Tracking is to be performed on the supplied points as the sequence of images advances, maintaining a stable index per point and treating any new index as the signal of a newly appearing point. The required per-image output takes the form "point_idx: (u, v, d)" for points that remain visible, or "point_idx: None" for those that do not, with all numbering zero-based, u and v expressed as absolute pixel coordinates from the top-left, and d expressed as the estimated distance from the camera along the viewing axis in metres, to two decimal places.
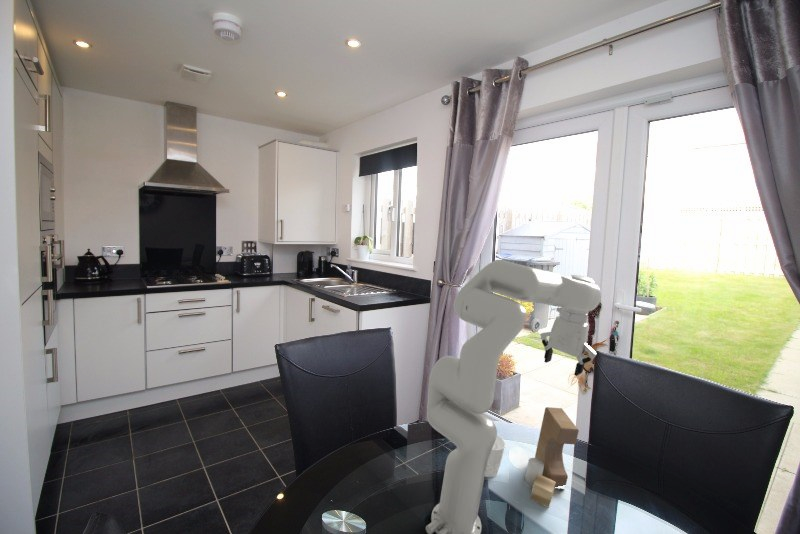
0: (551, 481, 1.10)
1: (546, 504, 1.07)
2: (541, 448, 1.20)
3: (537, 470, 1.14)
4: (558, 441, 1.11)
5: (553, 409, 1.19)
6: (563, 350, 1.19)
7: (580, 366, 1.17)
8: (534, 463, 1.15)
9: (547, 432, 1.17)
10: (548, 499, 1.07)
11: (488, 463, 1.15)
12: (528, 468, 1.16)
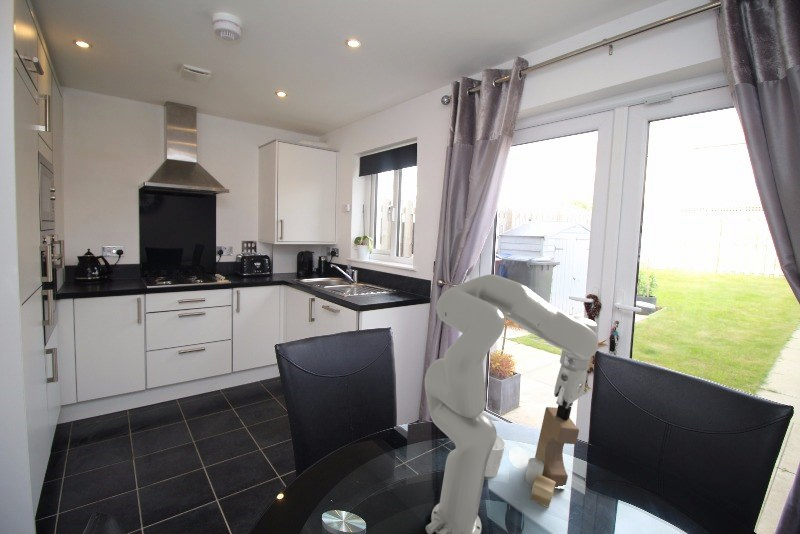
0: (551, 481, 1.10)
1: (546, 504, 1.07)
2: (542, 447, 1.20)
3: (537, 470, 1.14)
4: (558, 441, 1.11)
5: (553, 409, 1.19)
6: (577, 397, 1.12)
7: None
8: (534, 463, 1.15)
9: (547, 432, 1.17)
10: (548, 499, 1.07)
11: (488, 463, 1.15)
12: (528, 468, 1.16)
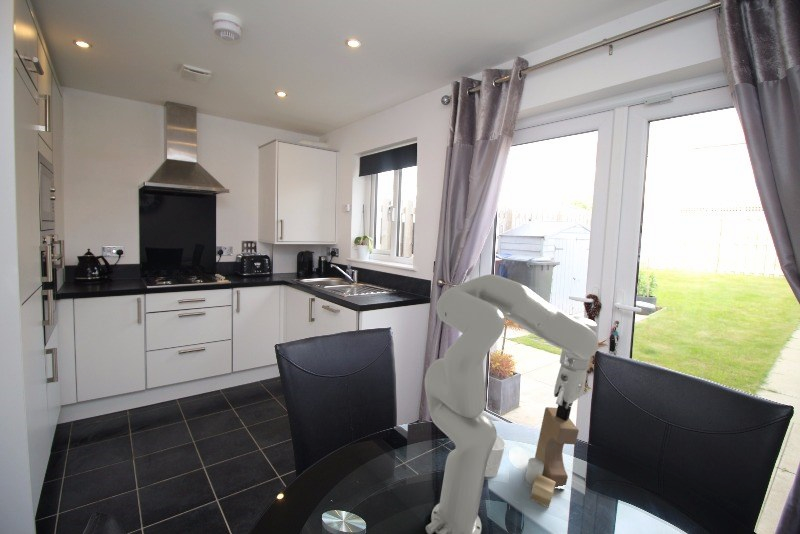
0: (551, 481, 1.10)
1: (546, 504, 1.07)
2: (541, 448, 1.20)
3: (537, 470, 1.14)
4: (558, 441, 1.11)
5: (553, 409, 1.19)
6: (577, 397, 1.12)
7: None
8: (534, 463, 1.15)
9: (547, 432, 1.17)
10: (548, 499, 1.07)
11: (488, 463, 1.15)
12: (528, 468, 1.16)
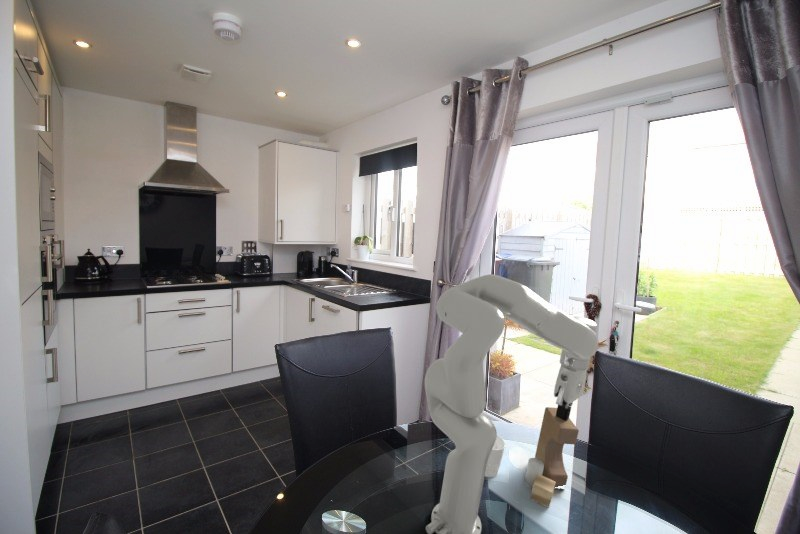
0: (551, 481, 1.10)
1: (546, 504, 1.07)
2: (541, 448, 1.20)
3: (537, 470, 1.14)
4: (558, 441, 1.11)
5: (553, 409, 1.19)
6: (577, 397, 1.12)
7: None
8: (534, 463, 1.15)
9: (547, 432, 1.17)
10: (548, 499, 1.07)
11: (488, 463, 1.15)
12: (528, 468, 1.16)
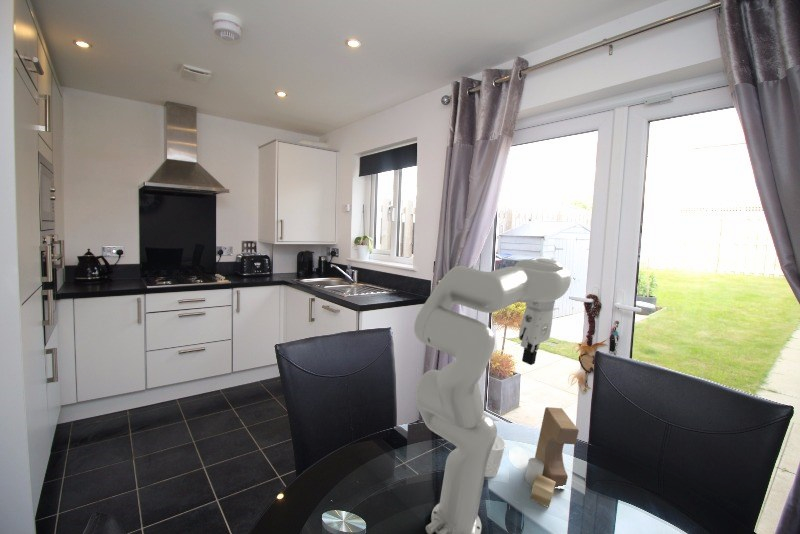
0: (551, 481, 1.10)
1: (546, 504, 1.07)
2: (541, 448, 1.20)
3: (537, 470, 1.14)
4: (558, 441, 1.11)
5: (553, 409, 1.19)
6: (542, 340, 1.11)
7: None
8: (534, 463, 1.15)
9: (547, 432, 1.17)
10: (548, 499, 1.07)
11: (488, 463, 1.15)
12: (528, 468, 1.16)
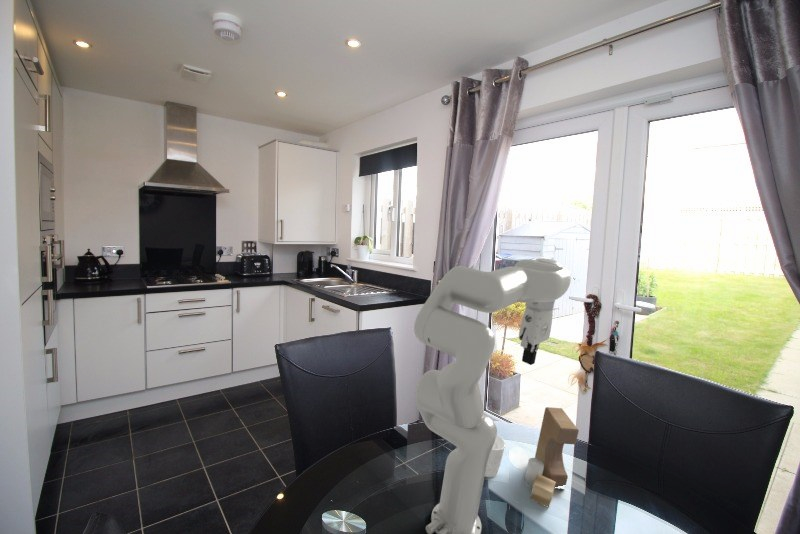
0: (551, 481, 1.10)
1: (546, 504, 1.07)
2: (541, 448, 1.20)
3: (537, 470, 1.14)
4: (558, 441, 1.11)
5: (553, 409, 1.19)
6: (542, 340, 1.11)
7: None
8: (534, 463, 1.15)
9: (547, 432, 1.17)
10: (548, 499, 1.07)
11: (488, 463, 1.15)
12: (528, 468, 1.16)
